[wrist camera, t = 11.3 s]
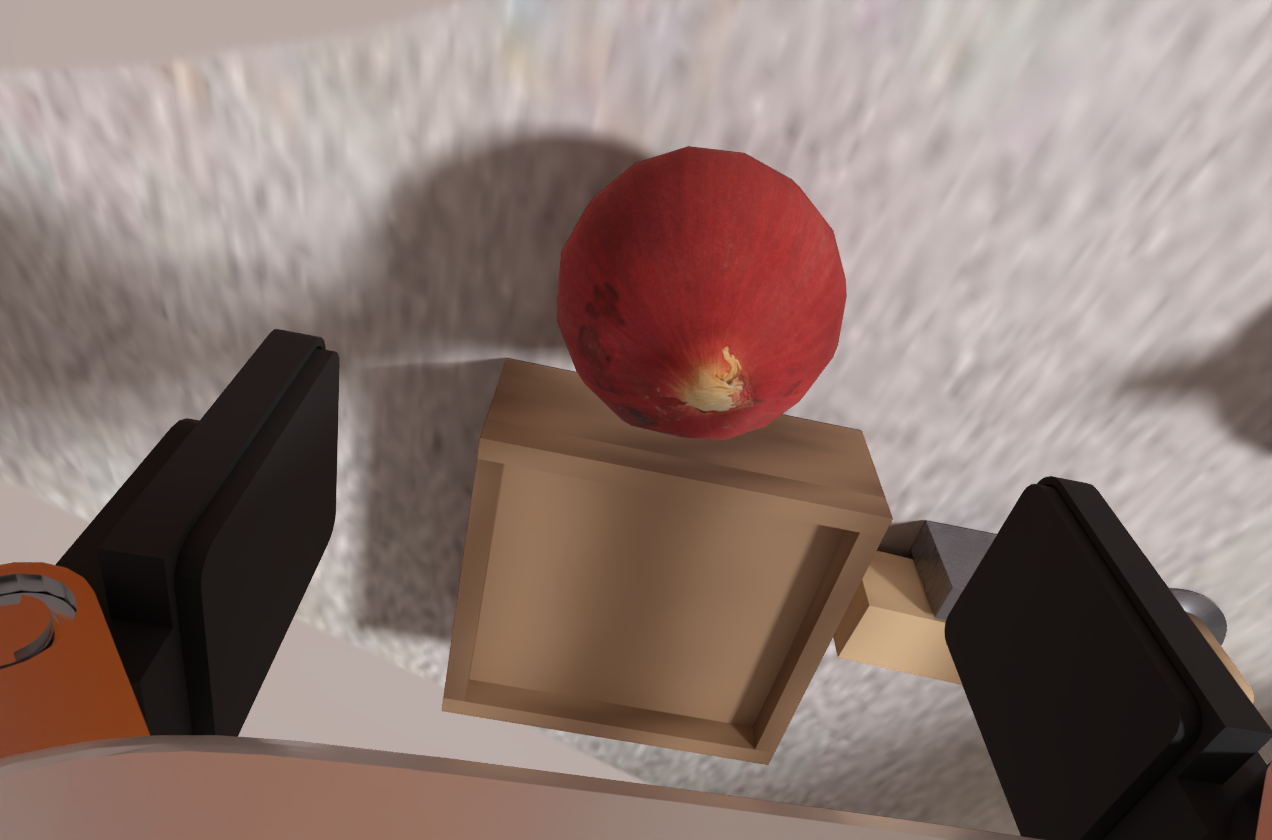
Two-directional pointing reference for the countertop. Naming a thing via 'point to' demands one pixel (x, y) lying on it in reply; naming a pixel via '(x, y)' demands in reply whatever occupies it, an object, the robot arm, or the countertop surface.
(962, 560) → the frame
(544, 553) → the wooden tray
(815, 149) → the countertop surface
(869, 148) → the countertop surface
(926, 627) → the leg
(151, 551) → the robot arm
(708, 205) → the onion
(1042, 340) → the countertop surface
